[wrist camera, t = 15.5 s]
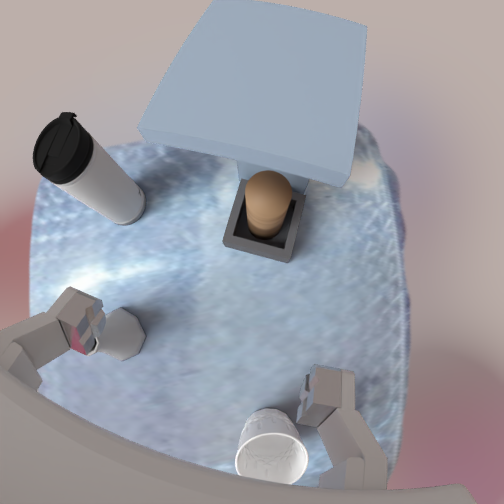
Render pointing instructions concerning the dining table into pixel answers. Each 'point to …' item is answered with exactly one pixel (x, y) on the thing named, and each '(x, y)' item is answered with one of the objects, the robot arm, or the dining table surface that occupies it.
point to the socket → (245, 241)
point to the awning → (265, 91)
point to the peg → (267, 203)
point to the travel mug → (86, 171)
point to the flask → (120, 336)
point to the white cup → (271, 448)
